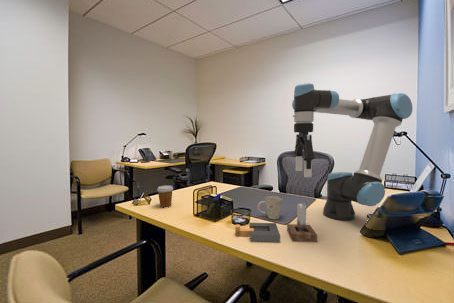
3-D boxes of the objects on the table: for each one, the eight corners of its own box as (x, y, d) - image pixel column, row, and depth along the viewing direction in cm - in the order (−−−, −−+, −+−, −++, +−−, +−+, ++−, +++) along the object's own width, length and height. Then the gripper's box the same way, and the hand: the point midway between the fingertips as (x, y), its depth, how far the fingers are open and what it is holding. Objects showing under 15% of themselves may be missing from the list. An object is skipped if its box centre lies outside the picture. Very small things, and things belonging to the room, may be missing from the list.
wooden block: (253, 233, 98) (253, 224, 98) (254, 236, 96) (254, 227, 95) (235, 233, 99) (235, 224, 99) (235, 236, 96) (235, 227, 96)
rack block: (309, 231, 100) (309, 224, 100) (317, 241, 90) (317, 234, 90) (287, 230, 101) (287, 224, 101) (292, 241, 91) (292, 234, 91)
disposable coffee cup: (161, 203, 142) (161, 185, 141) (176, 204, 140) (175, 185, 139) (154, 208, 132) (154, 188, 131) (170, 209, 131) (169, 189, 130)
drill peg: (304, 234, 97) (304, 202, 96) (306, 238, 94) (307, 205, 93) (295, 233, 98) (296, 202, 96) (298, 237, 94) (298, 205, 93)
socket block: (275, 229, 102) (275, 223, 102) (280, 242, 90) (280, 235, 90) (249, 228, 103) (249, 222, 103) (250, 241, 91) (250, 234, 91)
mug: (282, 221, 112) (282, 201, 111) (256, 219, 114) (256, 200, 114) (281, 214, 120) (281, 196, 119) (257, 213, 123) (257, 195, 122)
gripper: (288, 124, 104) (287, 168, 106) (302, 121, 79) (301, 180, 81) (304, 123, 104) (303, 168, 106) (324, 121, 79) (322, 180, 81)
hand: (303, 173), depth 93 cm, fingers open, 13 cm apart
